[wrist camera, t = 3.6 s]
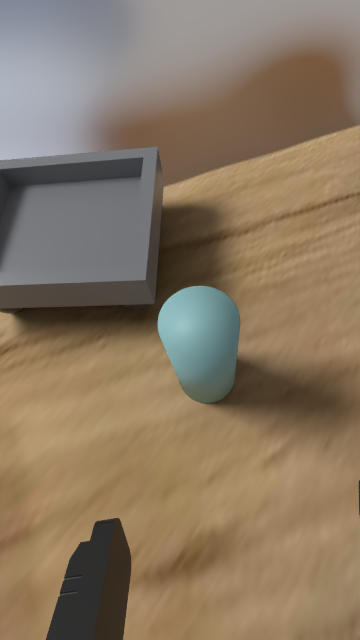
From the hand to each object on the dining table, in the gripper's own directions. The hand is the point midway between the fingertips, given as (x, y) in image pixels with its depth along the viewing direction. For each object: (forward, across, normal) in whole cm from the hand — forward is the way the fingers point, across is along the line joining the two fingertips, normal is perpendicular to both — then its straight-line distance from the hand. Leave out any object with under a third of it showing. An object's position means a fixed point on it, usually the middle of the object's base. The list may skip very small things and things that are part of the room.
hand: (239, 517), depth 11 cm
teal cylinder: (+15, 0, +3) cm, 16 cm away
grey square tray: (+25, +10, -7) cm, 28 cm away
